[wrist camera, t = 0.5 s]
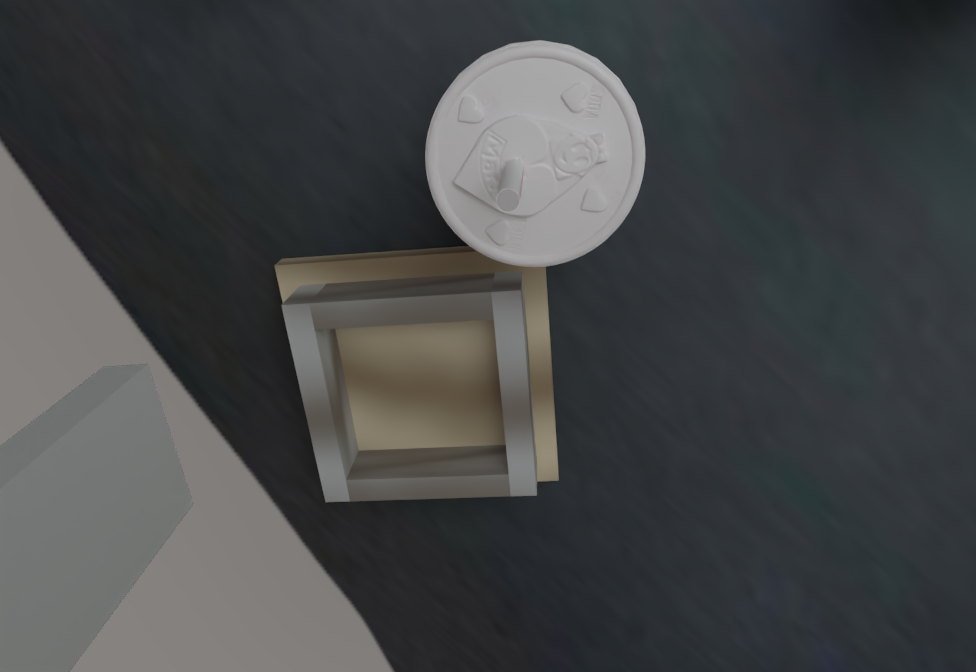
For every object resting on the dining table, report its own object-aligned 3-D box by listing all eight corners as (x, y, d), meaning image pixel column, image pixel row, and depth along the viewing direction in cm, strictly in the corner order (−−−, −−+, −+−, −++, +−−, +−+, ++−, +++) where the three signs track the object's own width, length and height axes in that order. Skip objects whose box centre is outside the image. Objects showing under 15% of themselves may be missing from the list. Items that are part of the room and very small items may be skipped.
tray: (282, 258, 32) (253, 284, 28) (544, 240, 30) (544, 264, 27) (329, 477, 36) (309, 519, 33) (558, 469, 35) (559, 512, 32)
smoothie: (442, 61, 28) (356, 84, 15) (600, 19, 27) (653, 7, 14) (480, 214, 30) (434, 346, 17) (626, 181, 29) (692, 297, 16)
